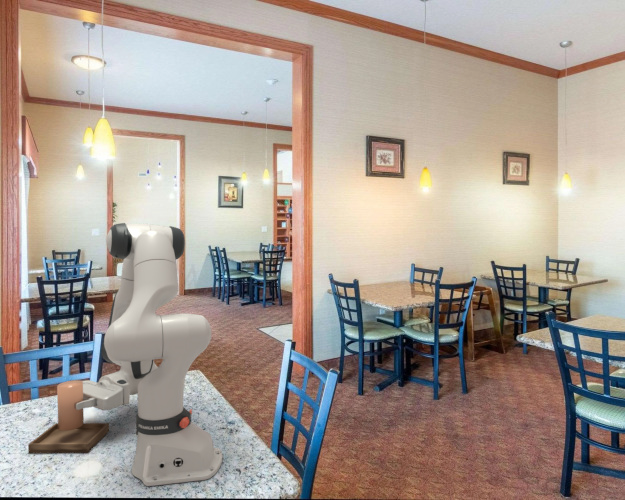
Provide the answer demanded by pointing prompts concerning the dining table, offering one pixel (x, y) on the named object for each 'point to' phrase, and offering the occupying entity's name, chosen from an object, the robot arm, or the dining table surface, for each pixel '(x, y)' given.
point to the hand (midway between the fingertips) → (67, 403)
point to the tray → (69, 439)
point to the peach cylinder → (69, 405)
